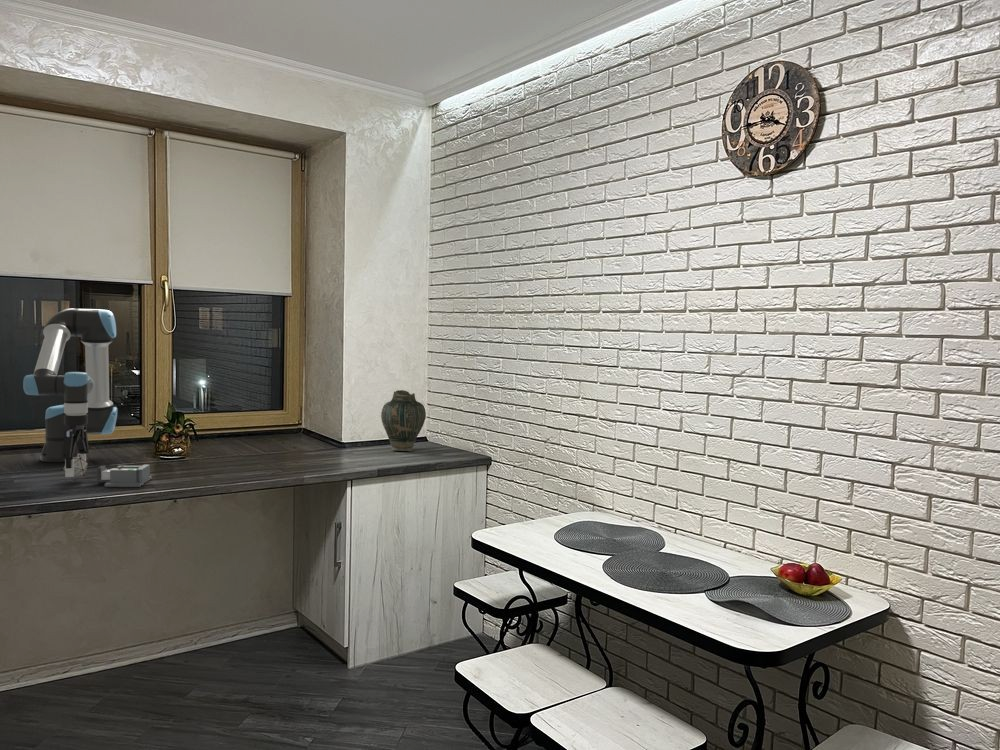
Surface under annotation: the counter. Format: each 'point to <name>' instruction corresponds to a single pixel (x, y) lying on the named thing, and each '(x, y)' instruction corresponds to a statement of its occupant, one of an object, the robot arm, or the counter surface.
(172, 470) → the counter surface
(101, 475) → the block with dark end
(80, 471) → the game die
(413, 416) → the vase
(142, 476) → the gauge housing
